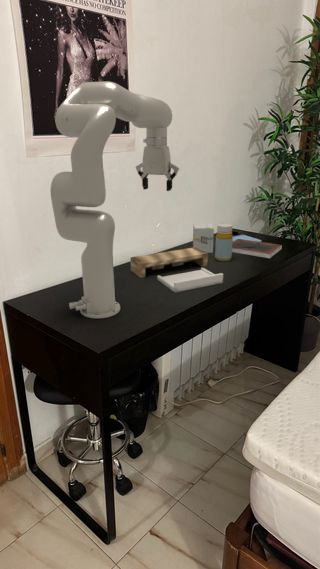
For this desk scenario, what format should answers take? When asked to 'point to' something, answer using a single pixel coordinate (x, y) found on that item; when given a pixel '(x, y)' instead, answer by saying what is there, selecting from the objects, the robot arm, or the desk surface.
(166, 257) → the oak overhang
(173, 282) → the white flat rectangular tray
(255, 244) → the book
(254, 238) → the waterproof phone case
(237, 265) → the desk surface
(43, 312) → the desk surface
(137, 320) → the desk surface
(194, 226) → the ink box
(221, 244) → the bottle
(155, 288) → the desk surface
